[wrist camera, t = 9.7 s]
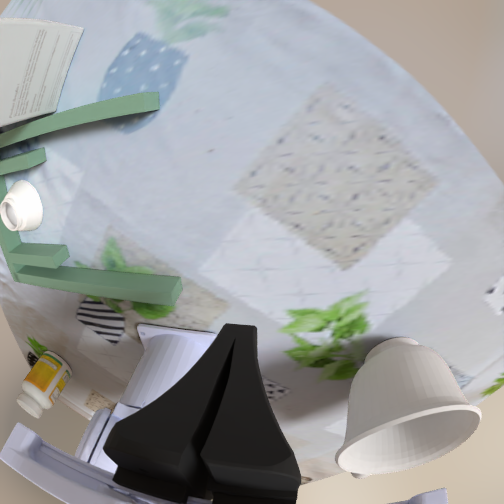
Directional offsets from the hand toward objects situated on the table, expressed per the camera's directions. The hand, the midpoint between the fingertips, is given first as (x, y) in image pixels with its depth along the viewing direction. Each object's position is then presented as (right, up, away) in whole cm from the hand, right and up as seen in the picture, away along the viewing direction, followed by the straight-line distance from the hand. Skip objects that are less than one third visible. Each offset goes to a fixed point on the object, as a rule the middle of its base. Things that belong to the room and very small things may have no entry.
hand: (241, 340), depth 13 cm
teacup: (+13, -7, +13) cm, 20 cm away
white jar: (-21, +9, +10) cm, 24 cm away
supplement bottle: (-28, -12, +22) cm, 38 cm away
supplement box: (-16, +19, +3) cm, 25 cm away
